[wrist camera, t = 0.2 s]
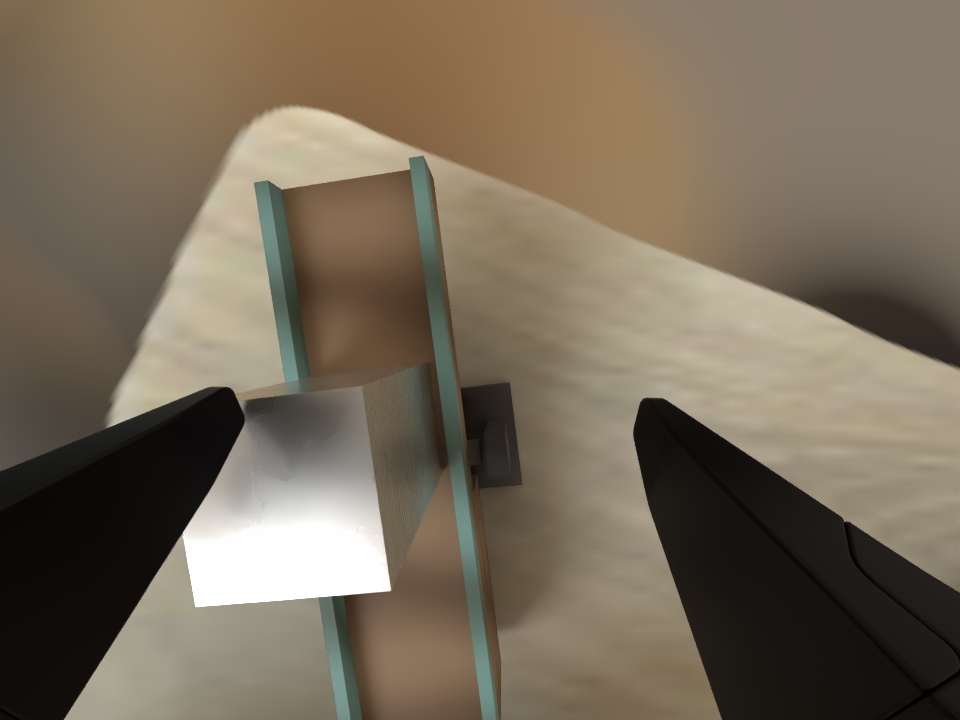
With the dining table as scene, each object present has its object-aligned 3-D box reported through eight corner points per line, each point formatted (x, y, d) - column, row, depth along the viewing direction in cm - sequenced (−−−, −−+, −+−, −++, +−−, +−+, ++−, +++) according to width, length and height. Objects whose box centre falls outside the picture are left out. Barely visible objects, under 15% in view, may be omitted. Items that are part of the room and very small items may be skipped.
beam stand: (521, 480, 23) (526, 518, 17) (331, 499, 24) (271, 542, 18) (509, 382, 23) (510, 385, 17) (321, 404, 24) (260, 414, 18)
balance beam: (511, 660, 21) (514, 752, 17) (368, 670, 22) (331, 761, 17) (453, 196, 20) (438, 153, 15) (300, 219, 20) (240, 184, 16)
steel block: (443, 470, 17) (391, 591, 9) (336, 481, 17) (195, 606, 9) (428, 361, 17) (361, 386, 9) (320, 374, 17) (161, 409, 9)
